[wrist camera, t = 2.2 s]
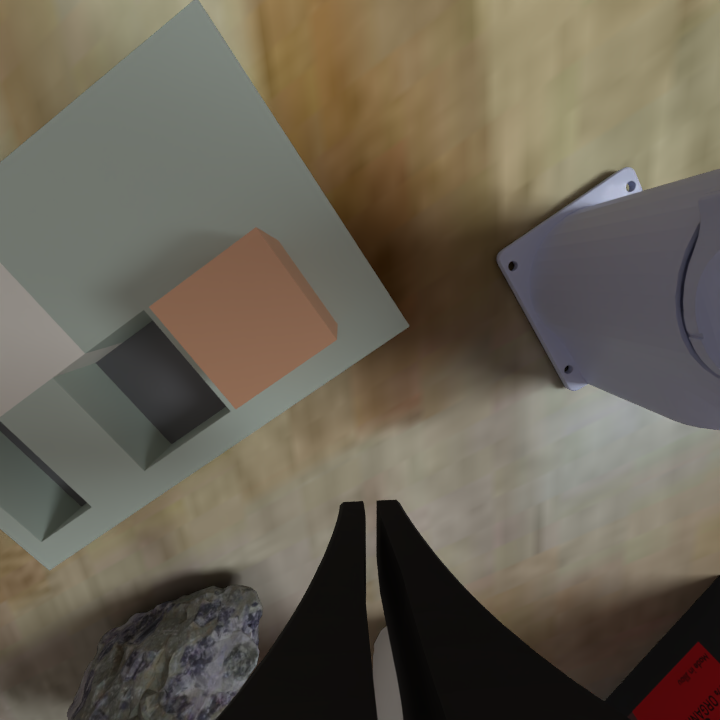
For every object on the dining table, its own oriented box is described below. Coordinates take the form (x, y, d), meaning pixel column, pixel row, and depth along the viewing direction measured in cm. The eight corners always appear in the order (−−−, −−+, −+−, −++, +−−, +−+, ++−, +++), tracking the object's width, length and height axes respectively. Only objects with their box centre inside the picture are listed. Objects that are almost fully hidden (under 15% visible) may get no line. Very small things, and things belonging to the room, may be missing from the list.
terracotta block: (337, 324, 16) (337, 339, 12) (260, 377, 16) (235, 409, 12) (278, 240, 15) (256, 226, 11) (198, 299, 15) (148, 307, 11)
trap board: (399, 318, 19) (409, 326, 16) (90, 529, 21) (49, 570, 18) (223, 50, 15) (196, -3, 13) (-125, 333, 18) (-218, 344, 15)
